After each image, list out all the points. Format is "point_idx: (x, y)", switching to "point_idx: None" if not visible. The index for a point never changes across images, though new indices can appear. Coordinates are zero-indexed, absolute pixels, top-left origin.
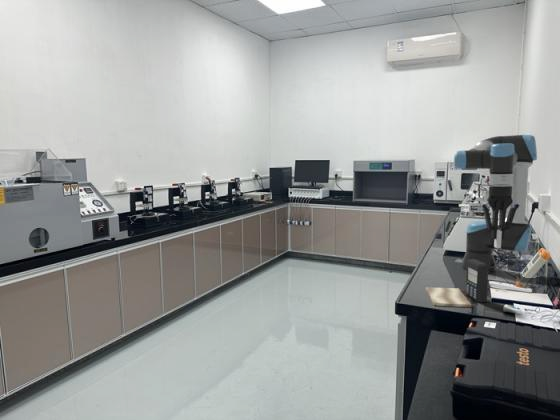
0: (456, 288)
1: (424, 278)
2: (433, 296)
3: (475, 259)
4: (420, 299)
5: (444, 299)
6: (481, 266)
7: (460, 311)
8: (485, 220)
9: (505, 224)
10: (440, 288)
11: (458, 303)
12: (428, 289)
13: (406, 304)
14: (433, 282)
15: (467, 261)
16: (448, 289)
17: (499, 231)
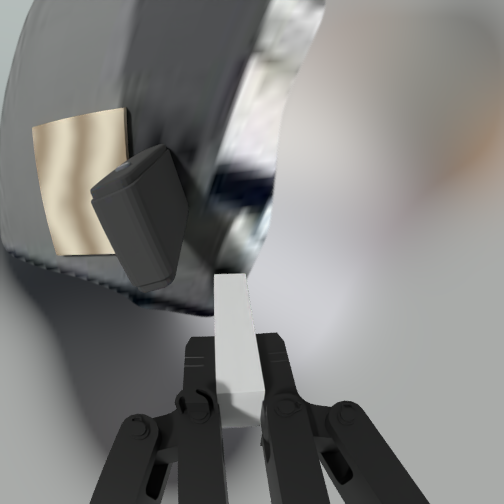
0: (116, 111)
1: (53, 12)
2: (50, 208)
3: (125, 192)
4: (29, 215)
5: (75, 226)
6: (142, 291)
7: (114, 278)
8: (94, 493)
9: (338, 448)
10: (68, 126)
11: (107, 250)
12: (37, 147)
13: (14, 253)
14: (68, 42)
15: (91, 194)
16: (89, 129)
17: (239, 425)
